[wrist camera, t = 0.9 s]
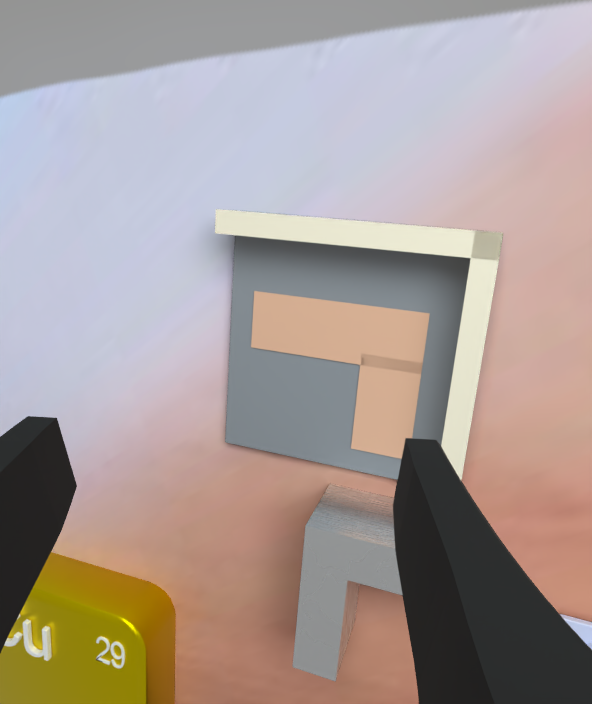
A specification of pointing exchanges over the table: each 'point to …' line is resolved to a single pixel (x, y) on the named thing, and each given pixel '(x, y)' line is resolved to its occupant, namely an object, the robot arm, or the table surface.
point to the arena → (355, 336)
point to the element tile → (90, 640)
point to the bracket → (341, 572)
